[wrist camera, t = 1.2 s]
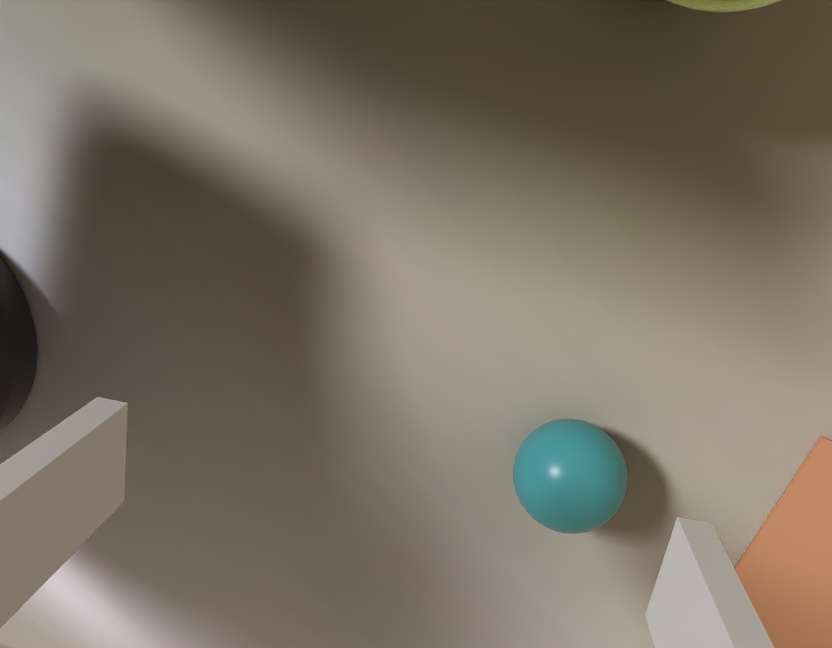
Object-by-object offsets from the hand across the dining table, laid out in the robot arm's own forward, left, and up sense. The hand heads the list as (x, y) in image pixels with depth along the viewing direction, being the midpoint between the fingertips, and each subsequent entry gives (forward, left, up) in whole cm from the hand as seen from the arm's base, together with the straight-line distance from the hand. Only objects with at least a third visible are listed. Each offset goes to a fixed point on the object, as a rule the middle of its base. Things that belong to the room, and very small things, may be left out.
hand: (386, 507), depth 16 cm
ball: (+5, -9, -17) cm, 20 cm away
